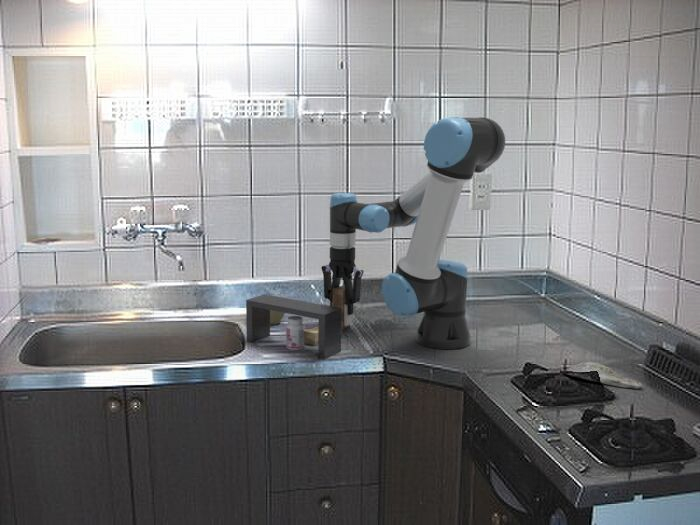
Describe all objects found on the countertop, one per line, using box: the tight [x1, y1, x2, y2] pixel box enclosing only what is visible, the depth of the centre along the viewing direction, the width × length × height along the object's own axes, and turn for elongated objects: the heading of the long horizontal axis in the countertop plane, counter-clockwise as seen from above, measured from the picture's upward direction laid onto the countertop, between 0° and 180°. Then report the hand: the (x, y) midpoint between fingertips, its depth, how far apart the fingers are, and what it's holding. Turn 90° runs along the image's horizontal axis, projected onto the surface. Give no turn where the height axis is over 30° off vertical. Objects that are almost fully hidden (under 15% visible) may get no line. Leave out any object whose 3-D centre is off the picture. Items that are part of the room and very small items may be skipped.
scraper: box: [304, 285, 351, 346], centre depth 218 cm, size 7×21×12 cm, turn 148°
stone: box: [567, 361, 644, 390], centre depth 187 cm, size 20×4×10 cm
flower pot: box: [270, 295, 286, 326], centre depth 229 cm, size 10×10×7 cm
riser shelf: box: [245, 293, 342, 360], centre depth 206 cm, size 26×8×12 cm, turn 58°
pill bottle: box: [285, 315, 305, 351], centre depth 206 cm, size 5×5×8 cm
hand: (341, 323), depth 226 cm, fingers closed on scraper, 3 cm apart
